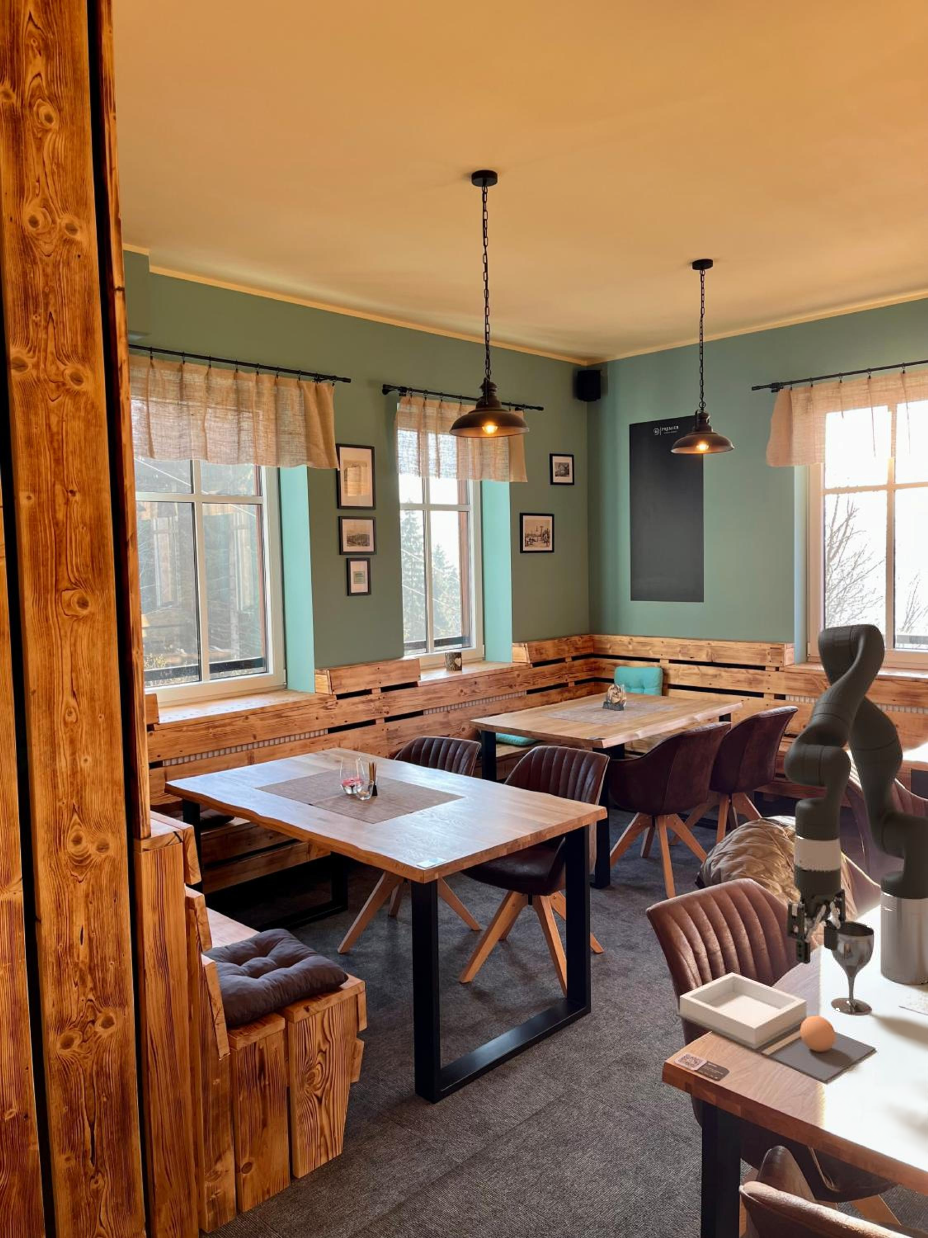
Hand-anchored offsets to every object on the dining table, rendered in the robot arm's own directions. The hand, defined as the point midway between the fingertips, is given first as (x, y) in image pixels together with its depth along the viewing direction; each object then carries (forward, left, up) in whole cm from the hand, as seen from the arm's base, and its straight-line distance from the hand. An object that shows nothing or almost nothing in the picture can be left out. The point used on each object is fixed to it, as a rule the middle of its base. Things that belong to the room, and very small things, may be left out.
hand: (817, 955), depth 155 cm
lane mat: (0, -9, -17) cm, 19 cm away
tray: (0, -15, -16) cm, 22 cm away
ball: (0, 0, -14) cm, 14 cm away
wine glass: (-20, -5, -17) cm, 27 cm away
